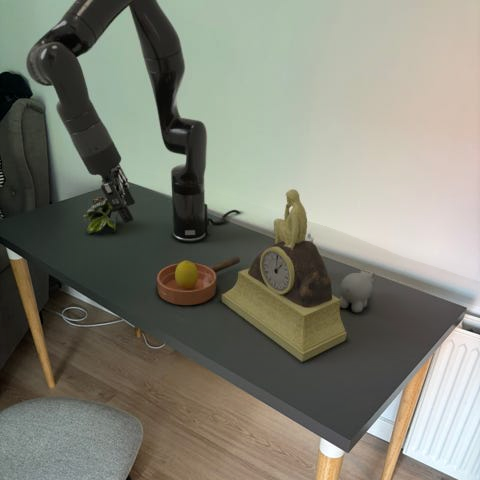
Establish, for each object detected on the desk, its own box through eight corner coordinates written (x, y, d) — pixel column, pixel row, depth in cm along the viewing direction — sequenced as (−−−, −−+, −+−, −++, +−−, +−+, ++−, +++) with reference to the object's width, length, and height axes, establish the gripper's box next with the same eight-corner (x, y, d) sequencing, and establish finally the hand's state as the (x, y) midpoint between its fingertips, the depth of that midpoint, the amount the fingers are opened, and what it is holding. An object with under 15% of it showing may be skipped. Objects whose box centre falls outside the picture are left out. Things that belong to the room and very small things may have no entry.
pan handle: (236, 260, 136) (236, 254, 135) (241, 263, 135) (241, 257, 134) (204, 274, 129) (204, 267, 128) (209, 276, 128) (209, 270, 127)
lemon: (194, 296, 123) (194, 267, 119) (173, 293, 124) (171, 264, 119) (200, 285, 128) (200, 256, 123) (179, 282, 128) (178, 254, 124)
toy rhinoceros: (381, 297, 126) (388, 266, 121) (359, 317, 118) (365, 286, 114) (355, 287, 130) (361, 257, 125) (332, 306, 122) (336, 275, 117)
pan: (191, 270, 134) (191, 257, 132) (227, 292, 126) (228, 278, 124) (146, 288, 126) (145, 274, 124) (182, 313, 118) (181, 298, 115)
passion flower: (103, 240, 160) (113, 203, 160) (125, 244, 153) (135, 206, 153) (73, 229, 151) (83, 190, 151) (95, 233, 144) (106, 192, 144)
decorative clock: (221, 301, 122) (223, 178, 105) (263, 286, 129) (270, 168, 112) (302, 362, 104) (319, 225, 87) (345, 340, 111) (369, 209, 94)
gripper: (109, 152, 100) (144, 221, 110) (114, 128, 111) (146, 193, 121) (74, 165, 101) (112, 233, 111) (82, 140, 112) (117, 204, 122)
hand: (130, 212), depth 116 cm, fingers open, 8 cm apart
